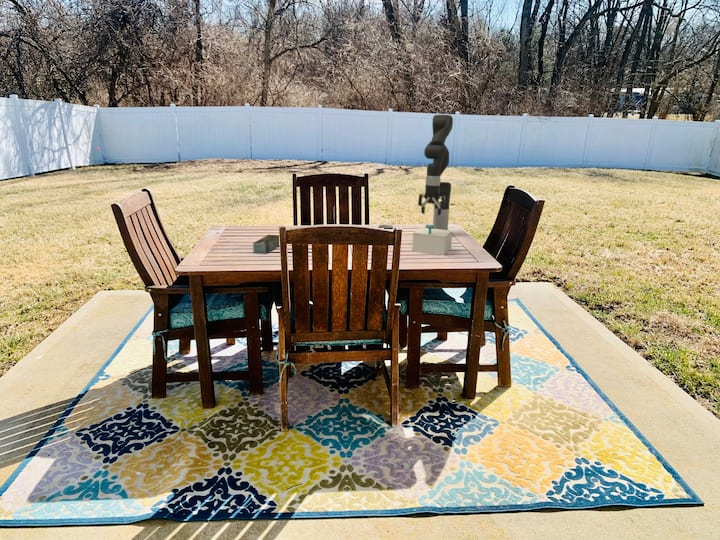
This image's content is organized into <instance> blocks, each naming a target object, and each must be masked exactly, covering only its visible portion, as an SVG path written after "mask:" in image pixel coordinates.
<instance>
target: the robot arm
mask: <svg viewBox="0 0 720 540" xmlns="http://www.w3.org/2000/svg"><path fill="white" fill-rule="evenodd" d="M453 124H454V119H453V116H452V115H450V114H434V115H433V117H432V138H431V141H429V142H428V144H427V145H426V146H425V148H424V152H423V154H424V157H425V158H426V159H428V160H433V162H432V163H428V164H427V167H426V176H425V177H426V179H425V189H424V192H425V193H424V194H422V193H420V194H419V195H418V201H417V202H418V203H417V206H419V207H421V211H420V212H421V213H422V215H424V214H425V212H426V210H425V209H426V207H425V206H426V205H427V203H428V204H433V219H432V221H433V222H432V225H435V228H434V229H441V230H448V229H449V218H450V217H449V215H450V200H451V192H452V183H451V182H447V181H446V182H445V181H441V176H442V175H443V173H444V172H445V171H446V169H447V168H448V166H449V164H450V152H449V149H448V147H447V146H446V145H445V142H446V140H447V138H448V136H449V135H450V133H451V132H452V130H453V126H454V125H453ZM423 199H425V200H424V202H422V201H423Z"/></svg>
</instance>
